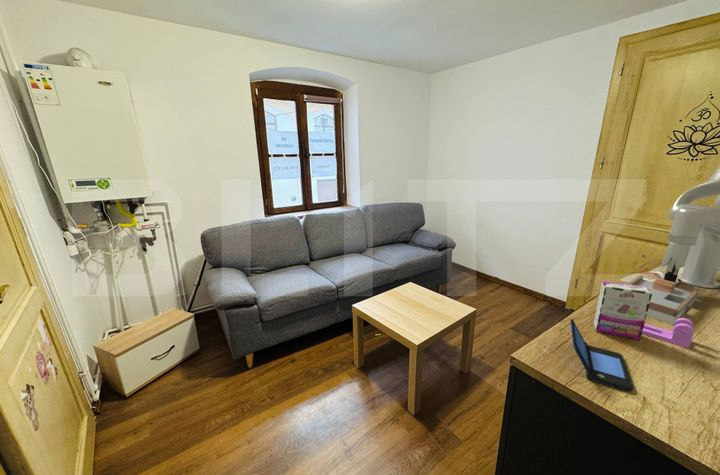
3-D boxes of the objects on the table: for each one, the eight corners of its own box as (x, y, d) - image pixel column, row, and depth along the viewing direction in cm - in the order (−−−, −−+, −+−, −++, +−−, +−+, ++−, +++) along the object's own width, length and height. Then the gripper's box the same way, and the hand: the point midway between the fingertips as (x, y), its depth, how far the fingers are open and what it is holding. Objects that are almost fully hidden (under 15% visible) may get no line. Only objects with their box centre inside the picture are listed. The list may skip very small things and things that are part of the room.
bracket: (688, 340, 90) (695, 320, 88) (688, 348, 86) (695, 328, 84) (632, 323, 99) (636, 305, 97) (629, 330, 96) (634, 311, 94)
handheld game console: (633, 395, 71) (642, 363, 69) (567, 374, 78) (573, 345, 76) (621, 357, 84) (628, 329, 81) (565, 342, 91) (570, 316, 88)
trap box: (637, 284, 125) (640, 273, 124) (695, 300, 111) (700, 287, 110) (610, 303, 111) (613, 290, 110) (673, 324, 97) (677, 310, 96)
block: (656, 285, 118) (658, 278, 117) (673, 289, 114) (675, 282, 113) (652, 288, 116) (654, 281, 115) (669, 293, 112) (671, 286, 111)
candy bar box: (634, 332, 94) (647, 286, 90) (640, 341, 90) (654, 293, 85) (591, 324, 99) (601, 280, 95) (595, 331, 95) (605, 286, 90)
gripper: (674, 234, 120) (662, 275, 125) (662, 240, 112) (650, 283, 117) (701, 238, 114) (687, 281, 119) (690, 245, 106) (676, 291, 111)
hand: (668, 282), depth 118 cm, fingers closed
